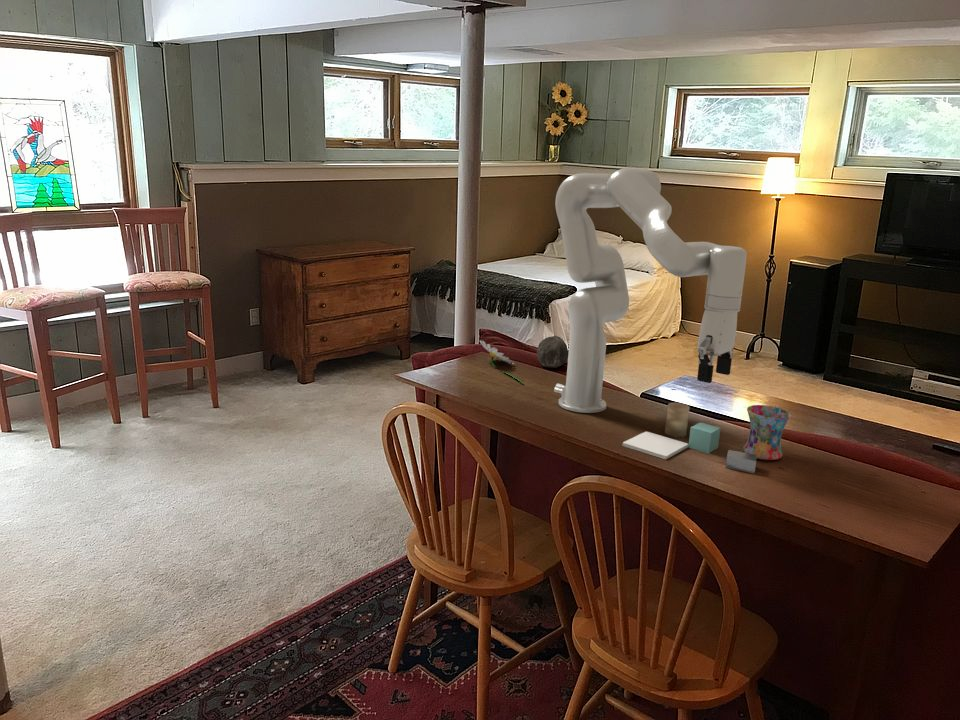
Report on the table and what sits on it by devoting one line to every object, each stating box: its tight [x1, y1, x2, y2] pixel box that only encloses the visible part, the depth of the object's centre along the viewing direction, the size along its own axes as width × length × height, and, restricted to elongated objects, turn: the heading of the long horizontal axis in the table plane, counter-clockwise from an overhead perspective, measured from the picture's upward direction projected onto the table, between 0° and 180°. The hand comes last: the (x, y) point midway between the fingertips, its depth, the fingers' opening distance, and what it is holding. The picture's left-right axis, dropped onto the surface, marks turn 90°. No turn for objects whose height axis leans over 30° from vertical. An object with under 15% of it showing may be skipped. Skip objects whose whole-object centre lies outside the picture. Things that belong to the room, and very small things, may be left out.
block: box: [687, 422, 721, 454], centre depth 175 cm, size 5×5×5 cm
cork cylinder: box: [664, 402, 690, 438], centre depth 184 cm, size 5×5×7 cm
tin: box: [724, 449, 758, 474], centre depth 165 cm, size 6×4×3 cm, turn 68°
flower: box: [479, 339, 525, 385], centre depth 230 cm, size 13×5×30 cm
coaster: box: [621, 431, 689, 460], centre depth 175 cm, size 11×11×1 cm
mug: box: [742, 404, 792, 461], centre depth 172 cm, size 12×9×11 cm
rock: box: [536, 335, 569, 369], centre depth 238 cm, size 10×11×10 cm
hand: (713, 377), depth 171 cm, fingers open, 9 cm apart
